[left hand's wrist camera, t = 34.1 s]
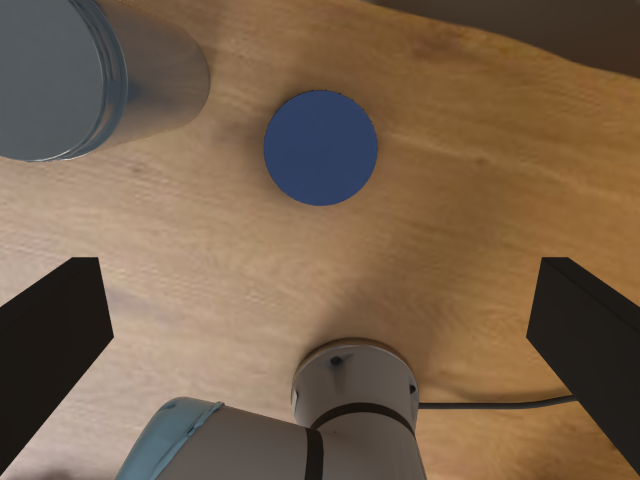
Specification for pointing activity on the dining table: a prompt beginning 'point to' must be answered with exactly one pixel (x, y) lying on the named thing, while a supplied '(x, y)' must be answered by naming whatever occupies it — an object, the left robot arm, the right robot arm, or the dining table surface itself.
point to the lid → (320, 148)
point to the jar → (92, 77)
